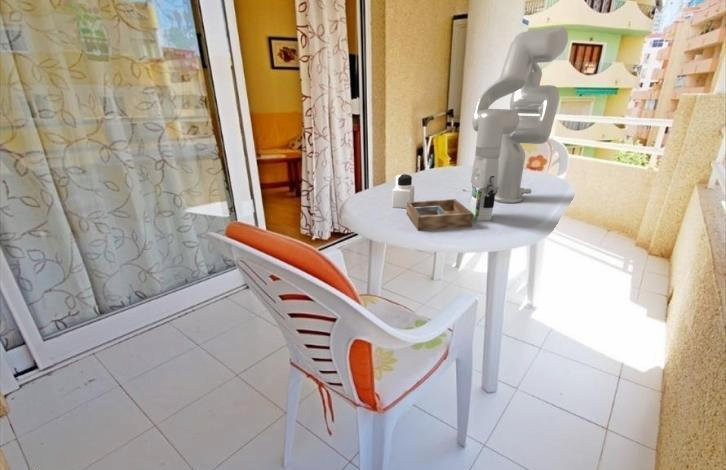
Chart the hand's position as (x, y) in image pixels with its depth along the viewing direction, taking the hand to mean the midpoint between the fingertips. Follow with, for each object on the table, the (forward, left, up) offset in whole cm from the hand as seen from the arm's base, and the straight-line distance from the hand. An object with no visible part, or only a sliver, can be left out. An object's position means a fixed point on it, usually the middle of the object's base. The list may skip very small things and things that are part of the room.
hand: (481, 203), depth 115 cm
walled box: (+15, -1, -5) cm, 16 cm away
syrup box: (0, 0, -6) cm, 6 cm away
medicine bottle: (+23, -19, -6) cm, 30 cm away
